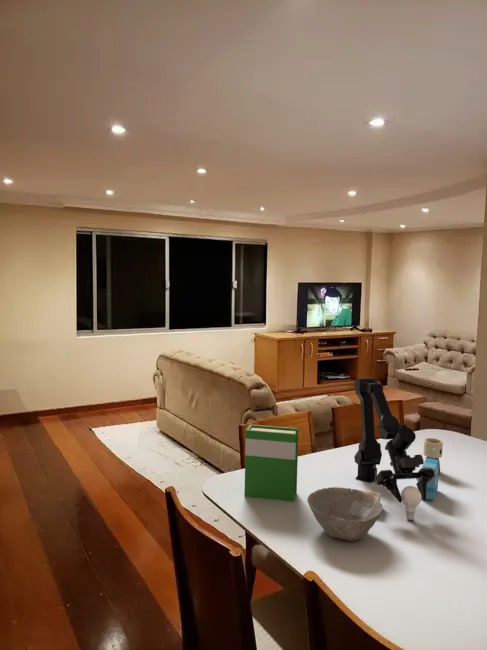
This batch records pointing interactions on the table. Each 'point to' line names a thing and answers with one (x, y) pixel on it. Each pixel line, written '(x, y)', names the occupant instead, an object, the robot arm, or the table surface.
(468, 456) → the table surface
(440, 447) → the character mug
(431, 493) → the data package
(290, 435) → the hardback book
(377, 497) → the kraft carton
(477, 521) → the table surface
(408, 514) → the lightbulb
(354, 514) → the ceramic bowl
